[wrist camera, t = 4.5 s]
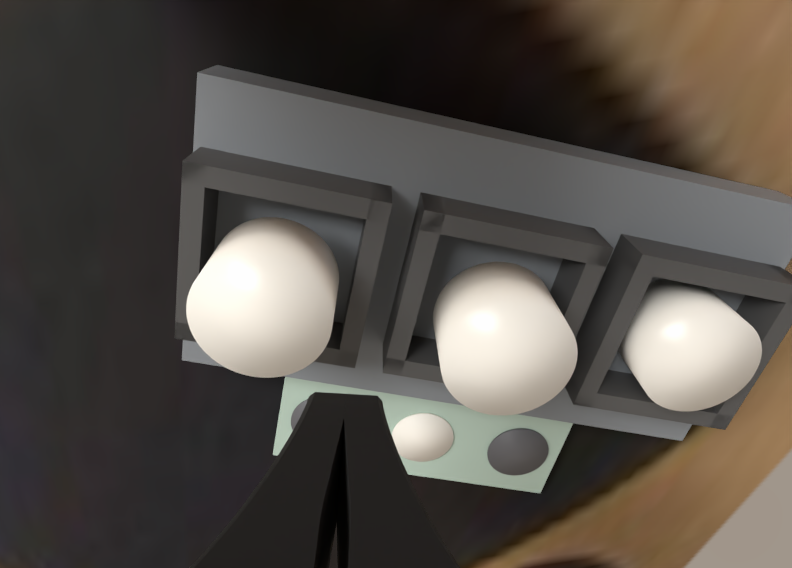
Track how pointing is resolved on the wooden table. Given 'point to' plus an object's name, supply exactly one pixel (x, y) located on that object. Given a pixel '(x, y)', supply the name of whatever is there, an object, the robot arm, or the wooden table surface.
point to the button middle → (502, 339)
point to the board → (475, 235)
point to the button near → (265, 298)
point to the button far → (689, 347)
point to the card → (449, 438)
